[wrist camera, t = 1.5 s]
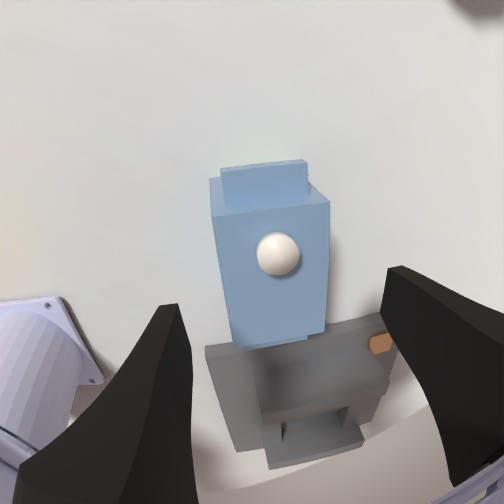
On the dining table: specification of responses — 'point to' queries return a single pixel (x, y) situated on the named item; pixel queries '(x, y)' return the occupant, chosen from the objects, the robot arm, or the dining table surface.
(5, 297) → the dining table surface
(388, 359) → the board
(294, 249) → the block
